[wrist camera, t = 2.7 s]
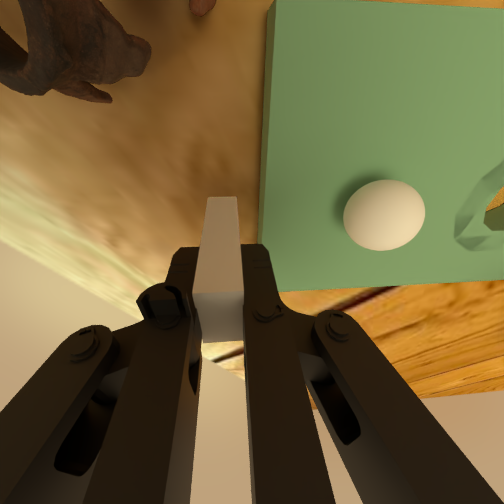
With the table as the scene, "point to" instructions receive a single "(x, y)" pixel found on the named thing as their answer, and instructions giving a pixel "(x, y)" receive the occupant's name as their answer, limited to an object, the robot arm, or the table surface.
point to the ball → (384, 215)
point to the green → (381, 139)
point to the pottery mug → (74, 49)
